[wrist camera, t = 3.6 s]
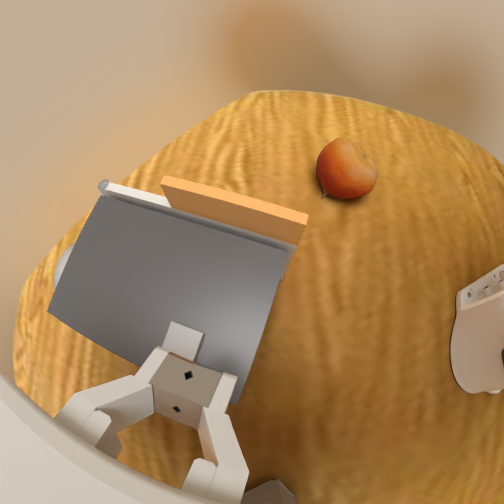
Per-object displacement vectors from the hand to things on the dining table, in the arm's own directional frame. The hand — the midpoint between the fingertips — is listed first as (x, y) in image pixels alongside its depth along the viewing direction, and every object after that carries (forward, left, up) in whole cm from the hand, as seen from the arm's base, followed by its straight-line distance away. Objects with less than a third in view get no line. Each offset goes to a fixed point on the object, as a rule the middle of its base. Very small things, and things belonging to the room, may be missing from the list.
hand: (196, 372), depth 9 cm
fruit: (-22, -13, -20) cm, 33 cm away
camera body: (+4, -8, -20) cm, 22 cm away
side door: (-2, -12, -19) cm, 23 cm away
